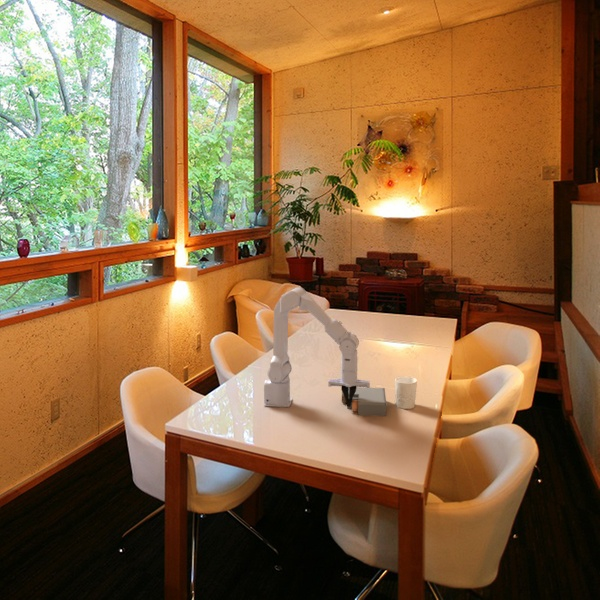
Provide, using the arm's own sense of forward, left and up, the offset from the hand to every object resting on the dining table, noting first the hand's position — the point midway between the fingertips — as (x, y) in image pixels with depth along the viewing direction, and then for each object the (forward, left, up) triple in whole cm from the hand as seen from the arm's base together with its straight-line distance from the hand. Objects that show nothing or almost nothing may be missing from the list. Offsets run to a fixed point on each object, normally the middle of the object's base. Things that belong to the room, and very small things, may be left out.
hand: (348, 405), depth 185 cm
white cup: (+20, +7, -2) cm, 22 cm away
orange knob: (+7, 0, -2) cm, 7 cm away
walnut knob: (+3, +8, -2) cm, 9 cm away
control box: (+6, +4, -2) cm, 8 cm away
